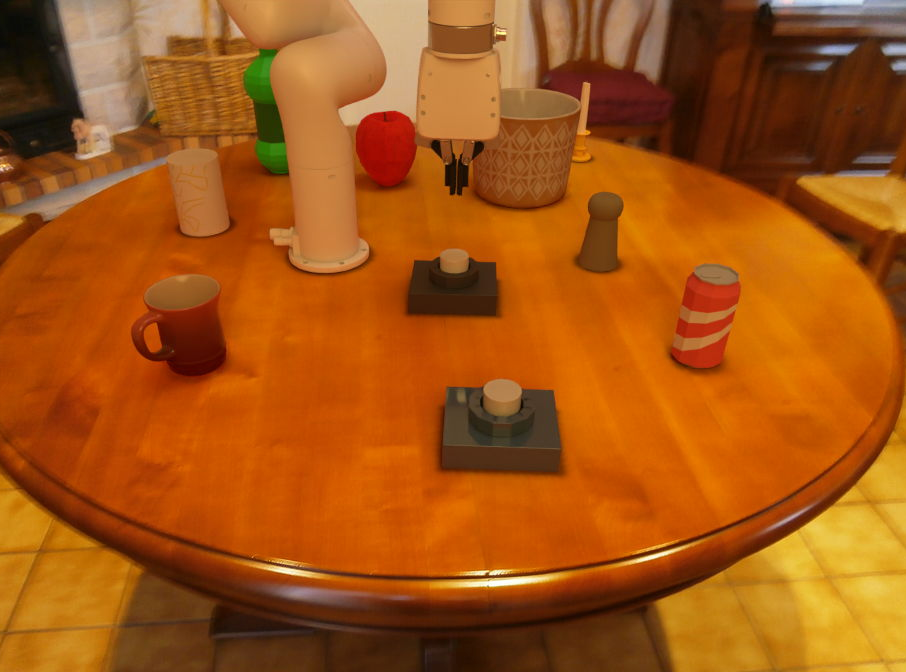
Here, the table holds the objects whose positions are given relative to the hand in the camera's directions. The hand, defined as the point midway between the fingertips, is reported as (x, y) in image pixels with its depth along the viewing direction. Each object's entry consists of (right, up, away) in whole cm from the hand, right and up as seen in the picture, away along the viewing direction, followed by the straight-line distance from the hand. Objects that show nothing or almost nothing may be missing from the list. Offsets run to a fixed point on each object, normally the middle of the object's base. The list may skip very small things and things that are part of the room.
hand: (456, 191), depth 95 cm
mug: (-33, -23, -4) cm, 41 cm away
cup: (-42, +2, +31) cm, 52 cm away
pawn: (+23, -6, +20) cm, 31 cm away
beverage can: (+30, -22, -2) cm, 37 cm away
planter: (+13, +10, +43) cm, 46 cm away
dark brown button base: (0, -12, +11) cm, 16 cm away
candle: (+27, +21, +59) cm, 68 cm away
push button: (0, -9, +8) cm, 12 cm away
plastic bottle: (-33, +18, +53) cm, 65 cm away
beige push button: (+4, -27, -17) cm, 32 cm away
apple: (-12, +13, +47) cm, 50 cm away
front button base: (+4, -31, -15) cm, 34 cm away
